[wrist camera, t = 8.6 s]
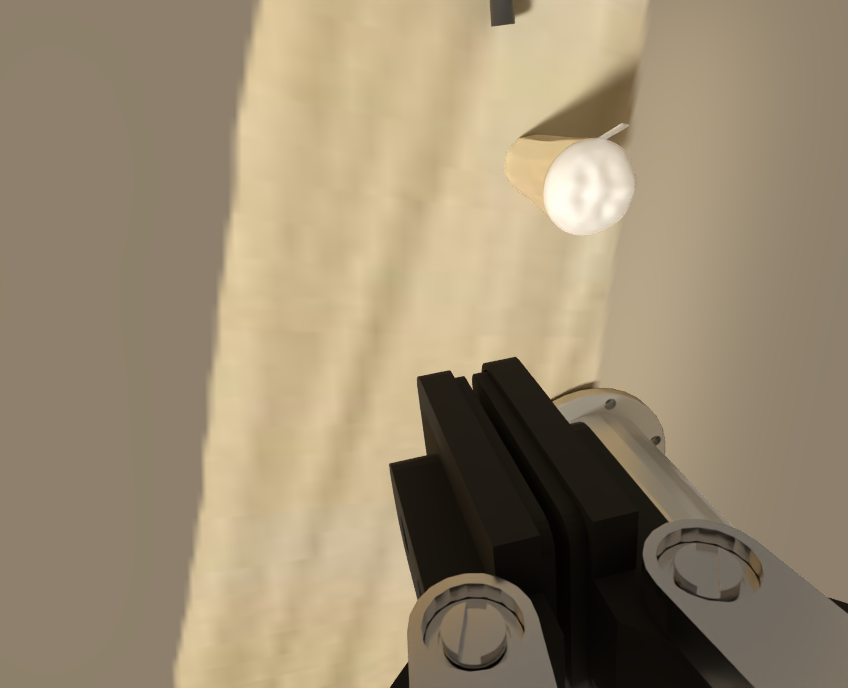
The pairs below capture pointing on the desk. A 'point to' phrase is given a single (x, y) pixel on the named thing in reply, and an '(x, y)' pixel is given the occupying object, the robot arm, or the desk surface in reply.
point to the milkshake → (573, 179)
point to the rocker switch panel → (502, 12)
